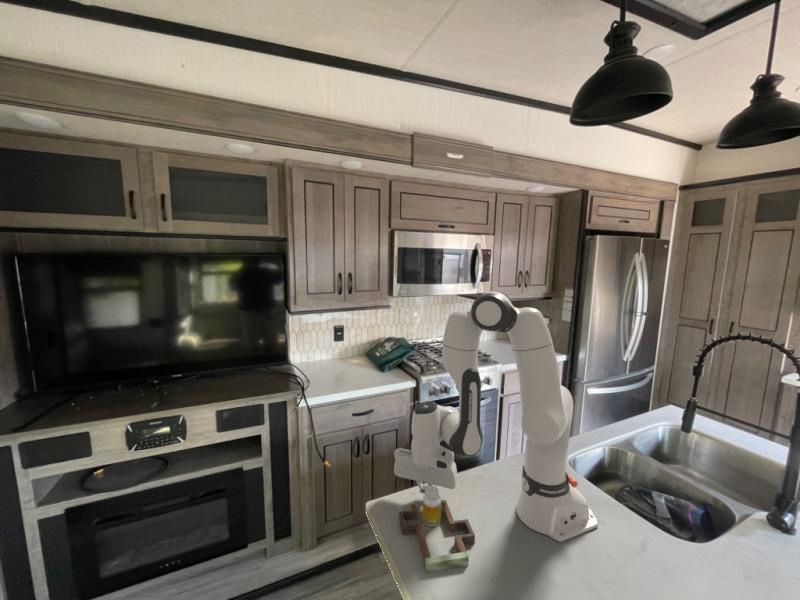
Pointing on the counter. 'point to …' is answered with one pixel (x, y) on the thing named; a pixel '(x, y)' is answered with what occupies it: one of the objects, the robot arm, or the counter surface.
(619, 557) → the counter surface
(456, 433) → the robot arm
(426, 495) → the supplement bottle
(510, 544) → the counter surface
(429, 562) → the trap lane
